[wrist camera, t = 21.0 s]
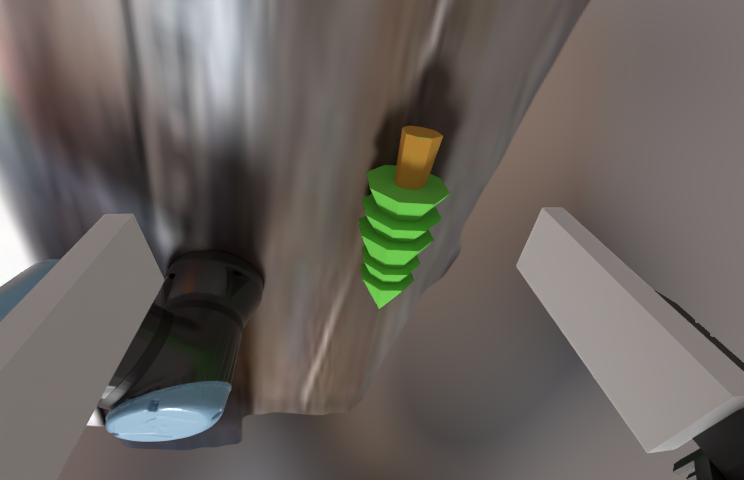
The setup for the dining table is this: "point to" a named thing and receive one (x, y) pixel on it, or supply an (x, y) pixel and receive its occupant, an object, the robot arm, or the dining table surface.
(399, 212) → the decorative tree
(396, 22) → the dining table surface
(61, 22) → the dining table surface
